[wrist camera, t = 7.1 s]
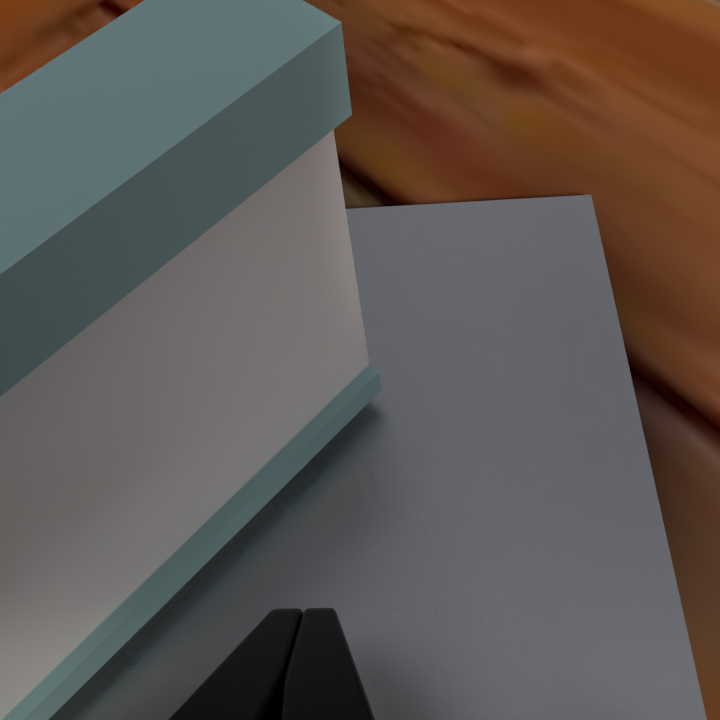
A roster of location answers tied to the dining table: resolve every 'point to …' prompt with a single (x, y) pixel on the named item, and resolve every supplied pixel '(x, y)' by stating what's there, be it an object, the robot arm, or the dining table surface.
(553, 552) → the gate post
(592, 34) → the dining table surface
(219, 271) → the gate
